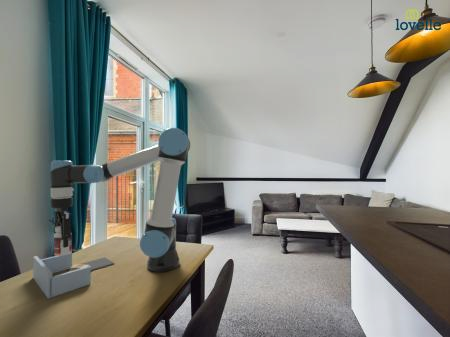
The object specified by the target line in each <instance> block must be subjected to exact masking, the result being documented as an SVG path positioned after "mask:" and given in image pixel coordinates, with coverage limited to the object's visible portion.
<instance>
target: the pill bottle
mask: <svg viewBox="0 0 450 337" xmlns="http://www.w3.org/2000/svg"><path fill="white" fill-rule="evenodd" d="M55 232H57V233H54V234H53V255H54V256H61V240H60V239H61V238H62V235H61V226H57V227H55ZM72 236H73V235H72V232H71V238H69V253H73V242H72V241H73V237H72Z"/></svg>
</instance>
